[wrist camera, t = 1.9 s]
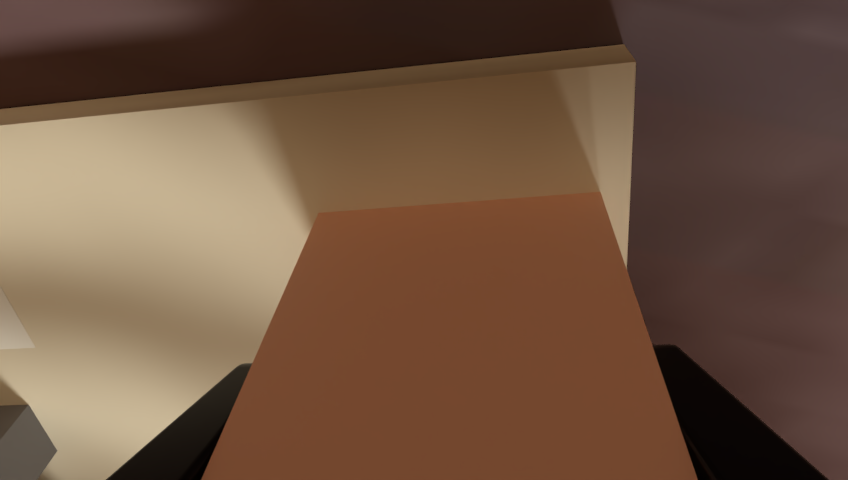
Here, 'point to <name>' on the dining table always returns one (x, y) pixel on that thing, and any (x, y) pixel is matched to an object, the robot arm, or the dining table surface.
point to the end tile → (457, 353)
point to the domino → (23, 444)
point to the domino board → (252, 215)
